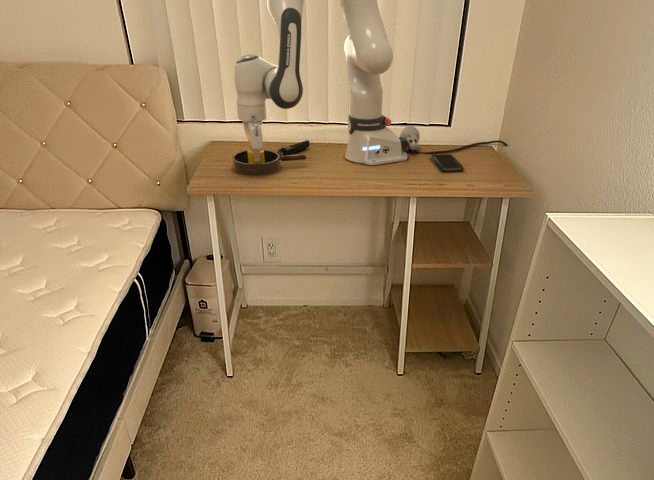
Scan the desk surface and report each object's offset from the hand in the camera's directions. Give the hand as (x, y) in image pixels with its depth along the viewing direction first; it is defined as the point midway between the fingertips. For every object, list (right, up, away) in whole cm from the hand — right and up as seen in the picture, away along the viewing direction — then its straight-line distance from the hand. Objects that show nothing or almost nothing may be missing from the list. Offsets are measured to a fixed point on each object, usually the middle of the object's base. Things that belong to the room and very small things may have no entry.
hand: (255, 156), depth 186 cm
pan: (0, -3, +2) cm, 4 cm away
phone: (+66, 0, +9) cm, 66 cm away
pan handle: (+12, 0, +4) cm, 13 cm away
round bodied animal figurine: (+54, +9, +19) cm, 58 cm away
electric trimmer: (+11, +7, +17) cm, 21 cm away
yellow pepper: (0, -3, +2) cm, 4 cm away
